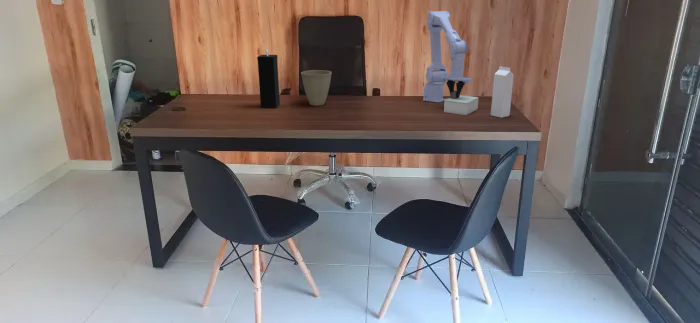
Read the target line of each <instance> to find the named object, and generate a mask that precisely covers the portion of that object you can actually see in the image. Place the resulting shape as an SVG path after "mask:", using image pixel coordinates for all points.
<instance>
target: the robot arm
mask: <svg viewBox="0 0 700 323" xmlns="http://www.w3.org/2000/svg"><path fill="white" fill-rule="evenodd" d="M450 20H451V14H450V12H449V11H447V10H442V11H432V10H430V11H428V13H427V16H426V27H427V30H429V38H430V54H431V55H430V57H431V58H430V59H431V64H430V65H428V67H426V74H425V79H426V83H424V87H423V99H422V101H426V102H431V103H432V102H433V103H442V102H445V100H446V99H447V98H444V84H446V85H447V88H448V91H449V98H450V97H451V92H452V91H455V85H456V91H457V93H456V97H457V98H458V97H459V96H460V95H461V92H462V89H463V87H464V86H465V84H471V83H472V80H473V78H469V77H465V76H463V74H464V73H463V72H464V62H465V61H464V60H465V54H467V51H468V45H467V42H466V40H463V39H461V38H460V35H459V33H458V31H456V30H455V29H453V27H452V24H451V21H450ZM442 30H443V32H445V40H446V41H447V43H448V46H449V47H448V49H449V57H450V72H449V74H448V71H447V66H446V65H444V64H443V63H442V62H443V61H442V44H441V31H442Z"/></svg>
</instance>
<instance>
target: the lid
mask: <svg viewBox="0 0 700 323" xmlns="http://www.w3.org/2000/svg"><path fill="white" fill-rule="evenodd" d="M456 93H457V90H454V91H452V92H451V97H450V96H449V97H448V98H445V99H446V100H444V102H445V101H446V102H454V103H461V104H468V103H471V102H473V101H475V100H477V99H478V100H479V97H477V96H472V95H471V96H469V95H461V94H460V96H459V97H458V98H457V97H456Z"/></svg>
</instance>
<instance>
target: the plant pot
mask: <svg viewBox="0 0 700 323" xmlns="http://www.w3.org/2000/svg"><path fill="white" fill-rule="evenodd" d="M301 78H302V80H301V81H302V84H303V88H304V92H305V95H306V98H307V101H308V103H309V105H311V106H323V105H324V104H326V100H327V96H328V95H329V90H330V85H331V78H332V71H330V70H320V69H312V70H304V71H302V72H301Z"/></svg>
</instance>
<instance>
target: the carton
mask: <svg viewBox="0 0 700 323" xmlns="http://www.w3.org/2000/svg"><path fill="white" fill-rule="evenodd" d="M443 102H444V103H443V104H444V106H443V112H444V113H447V114H448V113H449V114H456V115H461V116H462V115H463V116H468V115H469V114H472V113H473V112H474V111H477V110H479V108H478V107H479V98H478V99H477V100H475V101H473V102H471V103H468V104H461V103H454V102H446V101H445V100H444V101H443Z"/></svg>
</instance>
